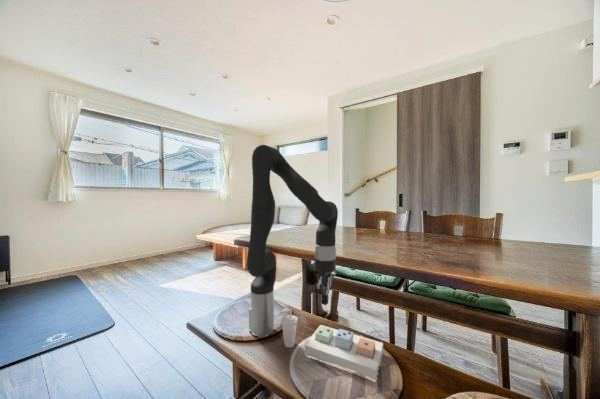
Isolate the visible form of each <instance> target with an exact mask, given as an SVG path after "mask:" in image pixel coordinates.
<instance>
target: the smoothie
mask: <svg viewBox="0 0 600 399" xmlns="http://www.w3.org/2000/svg"><path fill="white" fill-rule="evenodd" d="M298 323H299V321H298V317H297V316H295V315H294V314H292V307H289V314H286V315H283V316H282V317H281V319H280V324H281V329H282V336H283V343H284V344H283V345H284V347H285V348H288V349H291V348H292V347H294V346H295V340H296V335H297V334H296V332H297V325H298Z"/></svg>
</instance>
